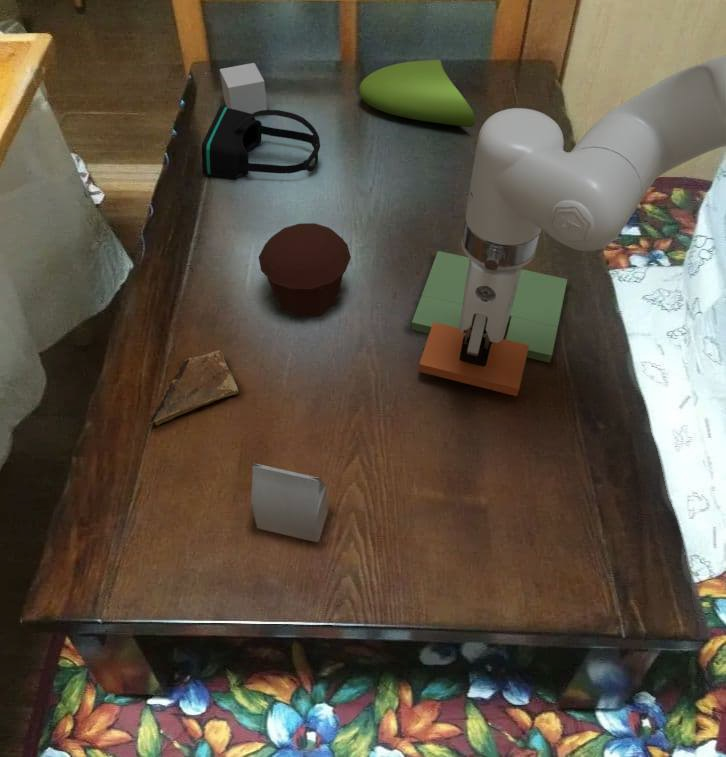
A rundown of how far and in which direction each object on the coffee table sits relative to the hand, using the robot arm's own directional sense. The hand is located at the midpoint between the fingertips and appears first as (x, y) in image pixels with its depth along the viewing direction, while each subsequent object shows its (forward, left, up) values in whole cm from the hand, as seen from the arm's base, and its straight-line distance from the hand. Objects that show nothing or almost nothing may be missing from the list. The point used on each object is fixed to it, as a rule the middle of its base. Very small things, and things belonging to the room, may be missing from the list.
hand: (475, 350), depth 87 cm
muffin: (+24, -6, -4) cm, 25 cm away
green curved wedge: (+21, -52, -4) cm, 57 cm away
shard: (+30, +14, -4) cm, 33 cm away
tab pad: (0, -2, -2) cm, 3 cm away
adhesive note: (+49, -44, -4) cm, 66 cm away
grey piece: (+14, +26, -4) cm, 29 cm away
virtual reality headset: (+40, -31, -4) cm, 51 cm away
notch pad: (0, -11, -4) cm, 12 cm away
